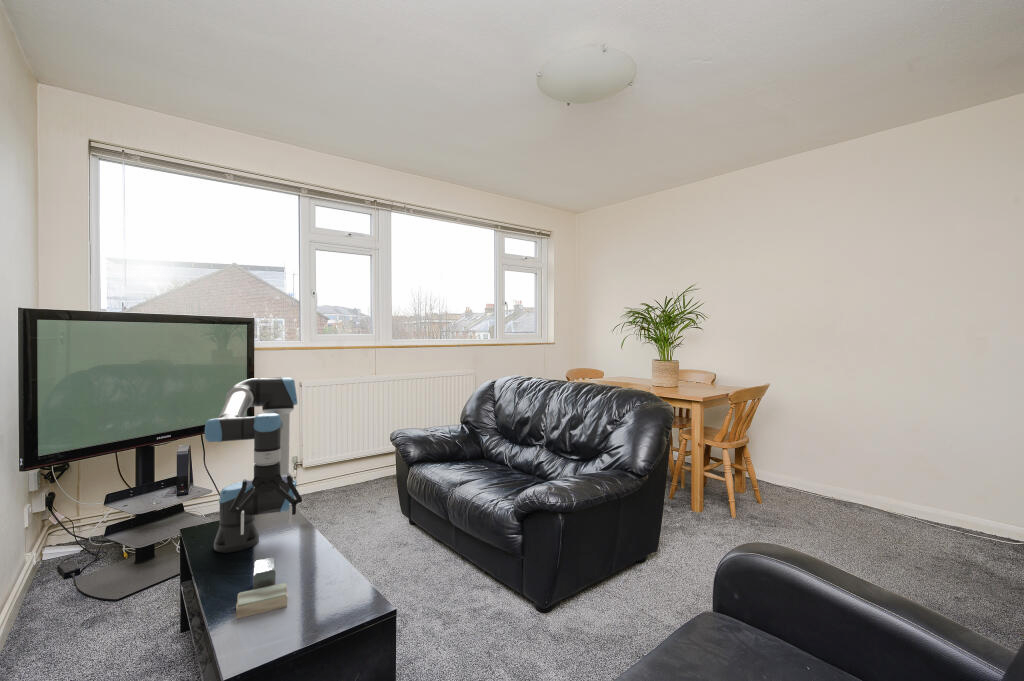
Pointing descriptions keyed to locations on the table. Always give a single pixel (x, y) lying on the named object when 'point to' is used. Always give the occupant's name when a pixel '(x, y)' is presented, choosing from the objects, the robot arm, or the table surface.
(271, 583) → the housing
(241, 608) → the stand
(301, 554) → the table surface
